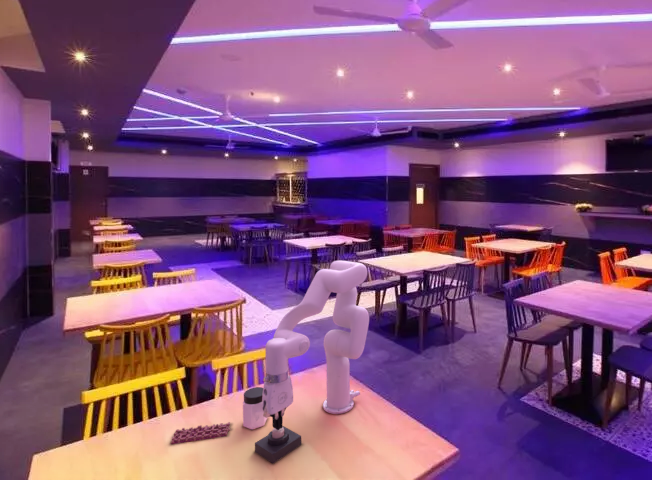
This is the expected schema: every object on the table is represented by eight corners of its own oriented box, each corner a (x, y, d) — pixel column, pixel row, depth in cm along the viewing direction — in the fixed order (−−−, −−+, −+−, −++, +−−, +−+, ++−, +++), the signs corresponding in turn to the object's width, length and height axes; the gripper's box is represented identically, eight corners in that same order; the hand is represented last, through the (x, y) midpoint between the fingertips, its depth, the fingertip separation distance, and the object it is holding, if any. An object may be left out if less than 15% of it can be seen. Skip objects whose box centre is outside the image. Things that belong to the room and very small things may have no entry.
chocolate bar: (228, 436, 146) (228, 431, 146) (171, 445, 141) (171, 439, 141) (231, 425, 153) (231, 420, 152) (177, 433, 148) (177, 427, 148)
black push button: (283, 434, 146) (283, 421, 146) (301, 444, 140) (301, 430, 140) (254, 452, 137) (254, 437, 136) (273, 463, 131) (272, 449, 130)
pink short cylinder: (279, 430, 141) (279, 424, 141) (286, 434, 139) (286, 428, 139) (269, 436, 138) (269, 430, 138) (277, 440, 135) (277, 434, 135)
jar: (245, 432, 148) (245, 400, 147) (240, 421, 154) (240, 391, 154) (270, 424, 152) (269, 393, 152) (264, 414, 159) (263, 384, 159)
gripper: (265, 387, 129) (265, 442, 130) (301, 370, 141) (301, 421, 142) (251, 380, 134) (252, 434, 134) (287, 364, 146) (288, 414, 146)
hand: (277, 427), depth 138 cm, fingers closed
